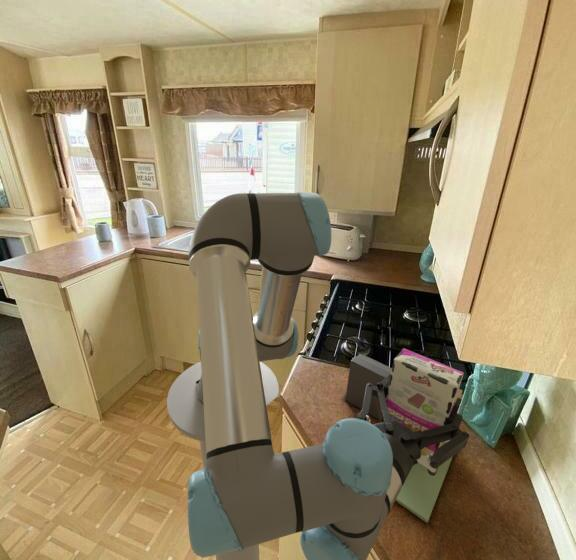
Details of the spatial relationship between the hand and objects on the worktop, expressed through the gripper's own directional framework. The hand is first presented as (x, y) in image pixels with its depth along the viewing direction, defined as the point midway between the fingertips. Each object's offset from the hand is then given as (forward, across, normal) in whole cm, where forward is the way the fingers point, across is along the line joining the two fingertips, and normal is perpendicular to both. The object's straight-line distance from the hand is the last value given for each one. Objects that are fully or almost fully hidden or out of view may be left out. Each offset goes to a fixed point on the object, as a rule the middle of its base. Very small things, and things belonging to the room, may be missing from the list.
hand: (426, 388), depth 63 cm
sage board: (+1, 0, -22) cm, 22 cm away
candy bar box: (-4, 0, -8) cm, 9 cm away
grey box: (+10, -15, -22) cm, 28 cm away
